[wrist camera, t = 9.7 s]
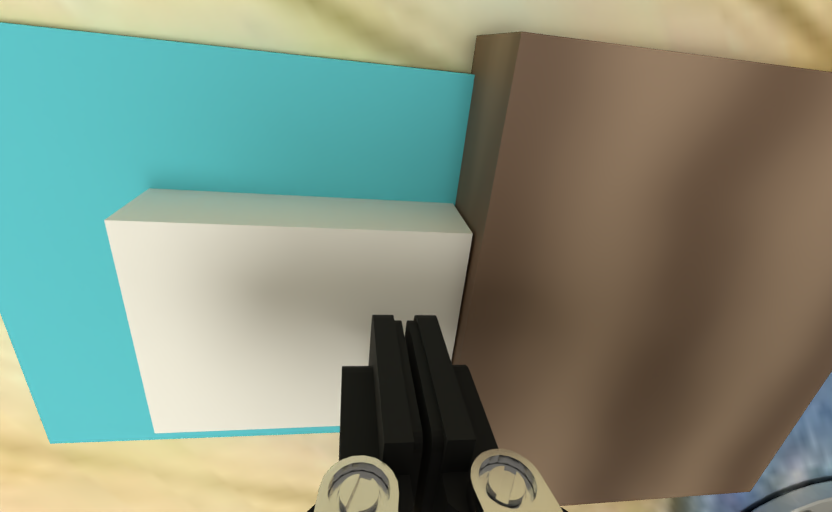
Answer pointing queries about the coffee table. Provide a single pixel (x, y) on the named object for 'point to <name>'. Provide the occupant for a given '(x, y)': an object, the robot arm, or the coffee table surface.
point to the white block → (274, 297)
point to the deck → (644, 262)
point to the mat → (178, 181)
